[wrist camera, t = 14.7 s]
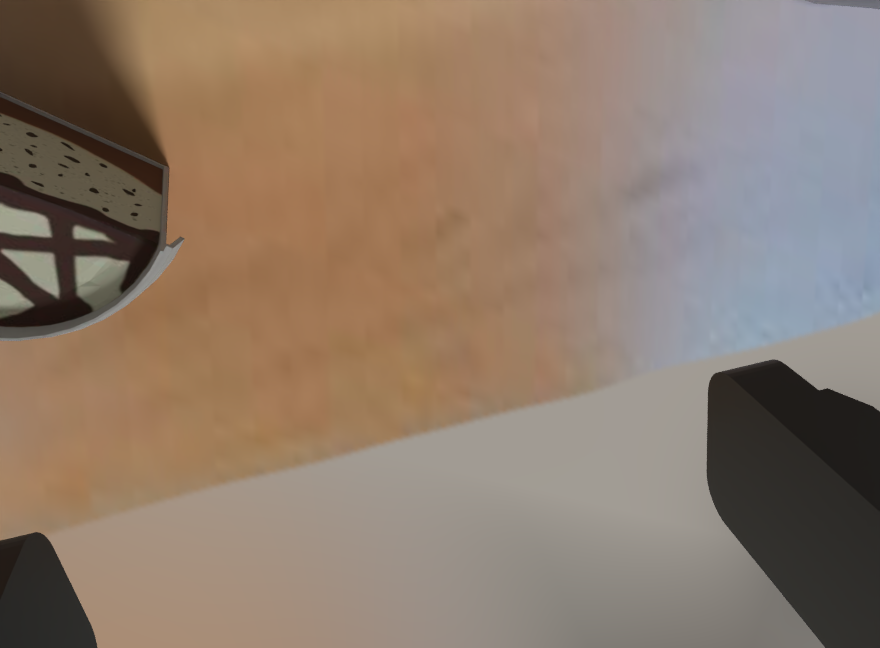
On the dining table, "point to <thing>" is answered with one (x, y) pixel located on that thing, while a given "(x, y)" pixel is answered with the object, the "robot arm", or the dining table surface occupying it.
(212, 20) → the dining table surface
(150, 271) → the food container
